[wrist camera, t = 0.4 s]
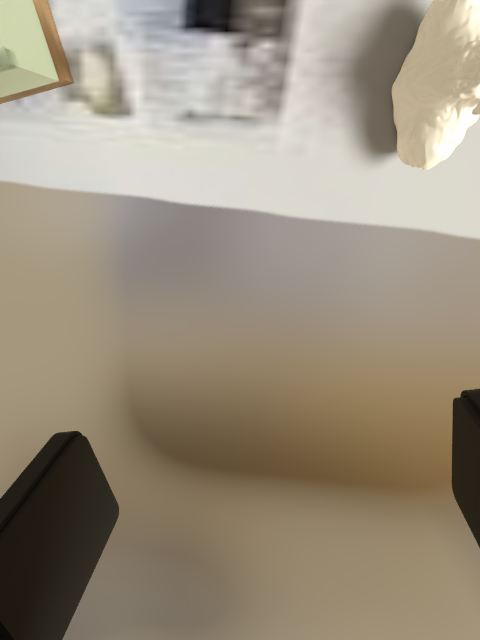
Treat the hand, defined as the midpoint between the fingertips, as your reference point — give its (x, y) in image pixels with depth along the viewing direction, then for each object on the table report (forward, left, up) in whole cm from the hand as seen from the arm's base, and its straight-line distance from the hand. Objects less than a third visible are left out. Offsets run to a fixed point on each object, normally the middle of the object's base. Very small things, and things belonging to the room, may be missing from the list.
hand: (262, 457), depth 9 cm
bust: (-9, +15, -31) cm, 36 cm away
